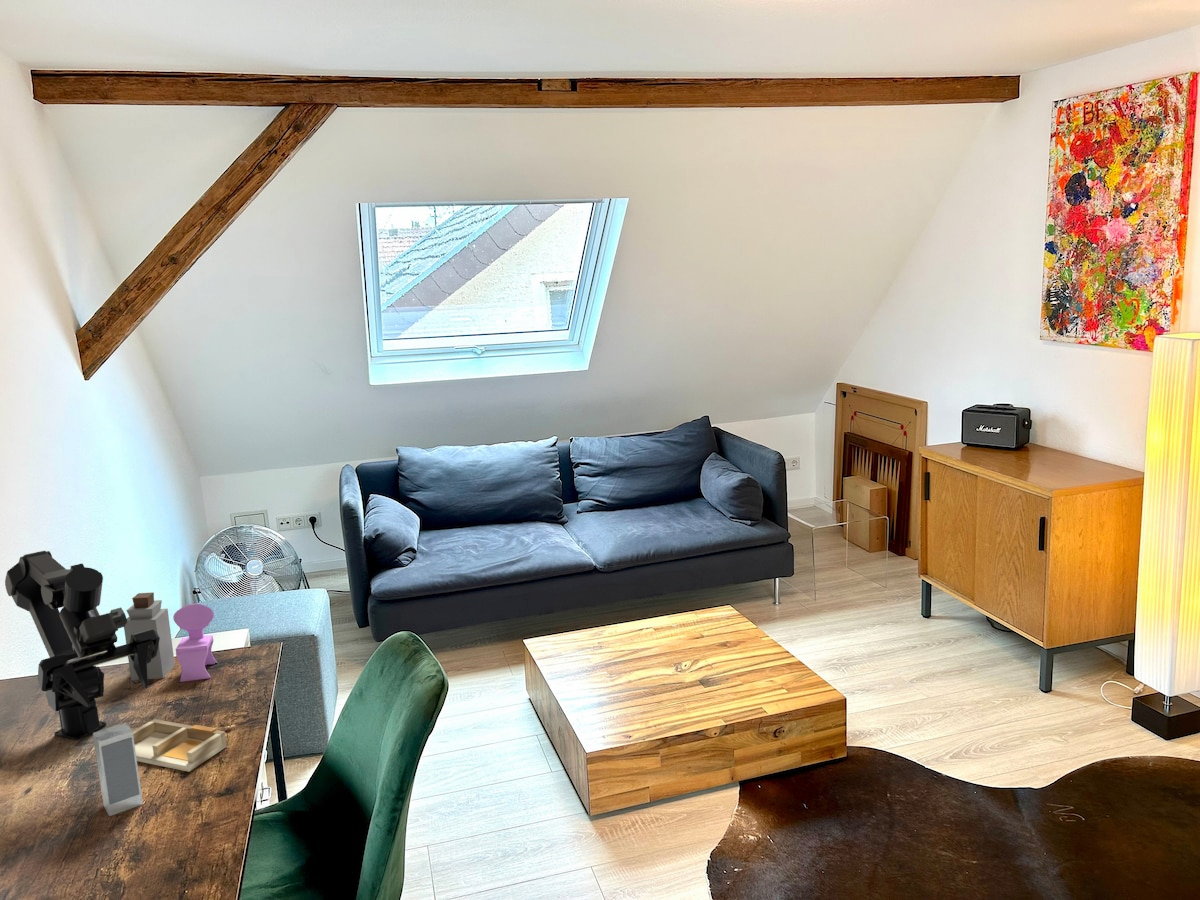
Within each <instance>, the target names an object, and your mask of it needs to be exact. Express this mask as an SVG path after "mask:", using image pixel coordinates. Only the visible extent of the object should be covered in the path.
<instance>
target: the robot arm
mask: <svg viewBox="0 0 1200 900" xmlns="http://www.w3.org/2000/svg"><path fill="white" fill-rule="evenodd" d="M103 582H104V576H103V574H102V572H99V571H98V570H97V569H96V568H92V567H85V565H84V563H83V562H82V563H78V564H73V565H70V569H67V568H65V567H64V566H63V565H62V564H61V563H59V562H58V561H57V560H56V559H55V558H53V555H52V553H51V551H50V550H40V551H35V552H32V553H26V554H23V556H20V557H19V560H18V562H17V563H16V564H15V565H13V566H12V567H10V569H8V570H7V571H6V575H5V580H4V586H5V589H6V593H7V595H8V597H11V598H12V599H13V602H14V604H15V606H16V607H18V608H20V609H23V610H25V611H27V612H28V613H29V614H30V616H31V618H32V620H33V623H34V624H35V627H36V629H37V632H38V634H39V636H40V638H41V641H42V644H43V645H44V648H45V650H46V652H47V655H48V656H49V657H47V658H43V659H41V660H40V662H39V663H38V667H37V669H38V672H37V682H38V684H39V687H40V689H41V691H42V692H46V693H45V697H46V700H47V704H48V706H49V707H50V708H51V709H52V710H53V711H54V712H58V715H59V716H58V717H59V722H60V723H59V724H60V729H59V730H56V731H54V733H53V734H54V736H56V737H60V738H65V739H71V740H75V741H79V740H81V739H83V738H85V737H87V736H89V735H91V734H93V733H94V732H97V731H99V730H100V729H101V728H103V727H105V726H107V721H102V720H100V717H99V710H98V707H97V704H96V703H97V702H96V699H98V698H103V697H104V693H105V682H104V681H105V672H103V671H102V670H101V667H99V665H103V664H106V663H110V662H113V661H116V660H120V659H124V658H126V657H127V658H128V656H130V657H131V659H132V661H134V663H133V667H134V669H135V671H136V673H137V676H138V678H139V682H140V683H141V685H142V687H143V688H144V689H147V688H148V687H149V686H148V685H149V683H148V682H149V679H148V678H147V664H148V663H150V662H151V659H153V658H154V657H155V656H157V651H158V645H159V640H160V637H159V635H158V633H157V632H156V631H155V630H153V629H149V630H145V631H142V632H138V633H134V634H131V639H130V643H129V644H126V643H125V644H123V645H119V646H116V645H115V643H118V636H117V634H116V632H117V631H119V629H121V628H124V627H125V625H126V623H127V618H128V617H127V615H126V613H125V612H124V610H123V608H122V607H118V608H114V609H111V610H110V612H106V613H103V614H100V612H99V611H98V608H97V607H99V606H100V604H101V598H102V590H103ZM60 608H61V609H60ZM59 609H60V610H59Z"/></svg>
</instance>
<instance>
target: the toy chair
mask: <svg viewBox="0 0 1200 900" xmlns="http://www.w3.org/2000/svg"><path fill="white" fill-rule="evenodd" d="M214 613H215V612H214V610H213V608H211V607H209V606H206V605H205V604H201V603H192V604H191V603H190V604H188V605H185V606H182V607H181V608H179V609H178V610H177V611H175V613H174V614H173V621H174V623H175V624H176V626H178V627H179V629H181V630H183V631H187V632H188V637H182V638H181V639H180V641H179V643H178V645H177V646H176V648H175V656H176V659H177V661H178V662H179V665H180V668H181V675H180V679H179V682H180V683H181V682H183V683H184V682H189V681H190V682H191V681H199V680H206V679H211V678H212V676H211V675H210V674H209V672H208V671H207V669H206V665H207V664H210V665H215V663H217V664H218V661H217V660H216V658H215V657H214V655H213V653H212V648H213V645H214V644H213V643H214V635H213V634H207V635H204V634H205V633H204V632H205V631H204V629H205V628H206V627H208V626H210V625H209V624H210V623H211V622H212V621H213V619H214V618H215V617H214V616H215V614H214ZM207 666H208V665H207Z"/></svg>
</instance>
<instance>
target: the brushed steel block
mask: <svg viewBox="0 0 1200 900" xmlns="http://www.w3.org/2000/svg"><path fill="white" fill-rule="evenodd" d="M133 731H134V730H132V728H131V727H130V725H129V724H128V722H124V723H122V724H117V725H115V726H112V727H111V726H110V727H108V728H104V729H101V730H96V731H94V732H92V736H93V737H92V738H93V744H94V750H95V755H96V756H95V757H96V761H97V771H98V777H99V784H100V791H101V796H102V797H101V798H102V803H103V807H104V809H105V812H106V813H107V815H108V816H109V817H111V816H115V815H116V814H120V813H123V812H126V811H128V810H131V809H134V808H136V807H140V806H142V805H144V801H143V794H142V788H141V787H142V786H141V782H140V781H141V780H140V773H139V767H138V761H137V759H136V751H135V744H134V737H133Z"/></svg>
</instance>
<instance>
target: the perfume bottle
mask: <svg viewBox="0 0 1200 900" xmlns="http://www.w3.org/2000/svg"><path fill="white" fill-rule="evenodd" d="M154 593H155V592H141V593H140V592H139V593H137V594H136V595H135V596H133V597H132V598H131V599H132V603H133V604H132V605H131V606H130V607H128V608H127V609H126V613H127V615H128V617H126V618H127V623H126V625H125V627H123V631H124V637H125V645H126V644H129V643H130V639H131V634H134V633H138V632H142V631H145V630H149V629H153V630H155V631H156V632H157V633H158V635H159V637H160V640H159V645H158V651H157V656H155V657H154V658H153V659H151V662H150V663H148V664H147V678H148V680H153V679H154V680H156V679H164V678H165V677H166V676H167V675H168V673H170V672H171V670H173V668H174V667H175V666H176V664H175V663H176V662H175V656H174V648H173V641H172V639H173V638H172V634H171V632H172V631H171V627H170V626H171V625H170V617H169V610H168V608H162V604H163V603H162V602H163V600H162V599H159V600H158V599H157V600H156V599H155V594H154ZM127 659H128V665H129V673H130V680H131V681H138V680H139V678H138V676H137V673H136V671H135V669H134V667H133V663H134V661H132V659H131V657H130V656H127ZM139 681H140V680H139Z"/></svg>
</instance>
